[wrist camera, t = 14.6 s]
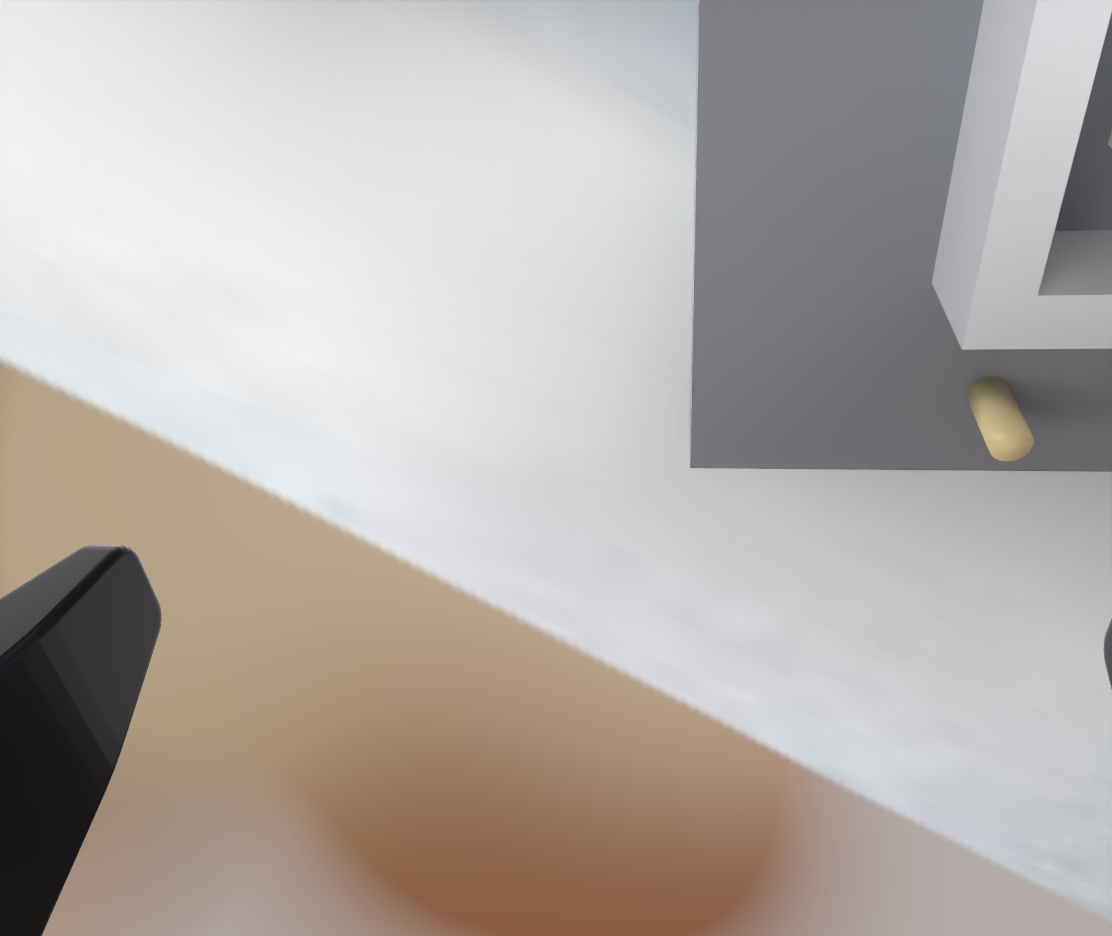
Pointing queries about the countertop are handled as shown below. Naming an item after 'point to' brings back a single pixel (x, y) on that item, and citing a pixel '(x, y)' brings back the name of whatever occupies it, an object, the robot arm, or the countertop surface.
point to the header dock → (903, 235)
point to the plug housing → (1110, 140)
